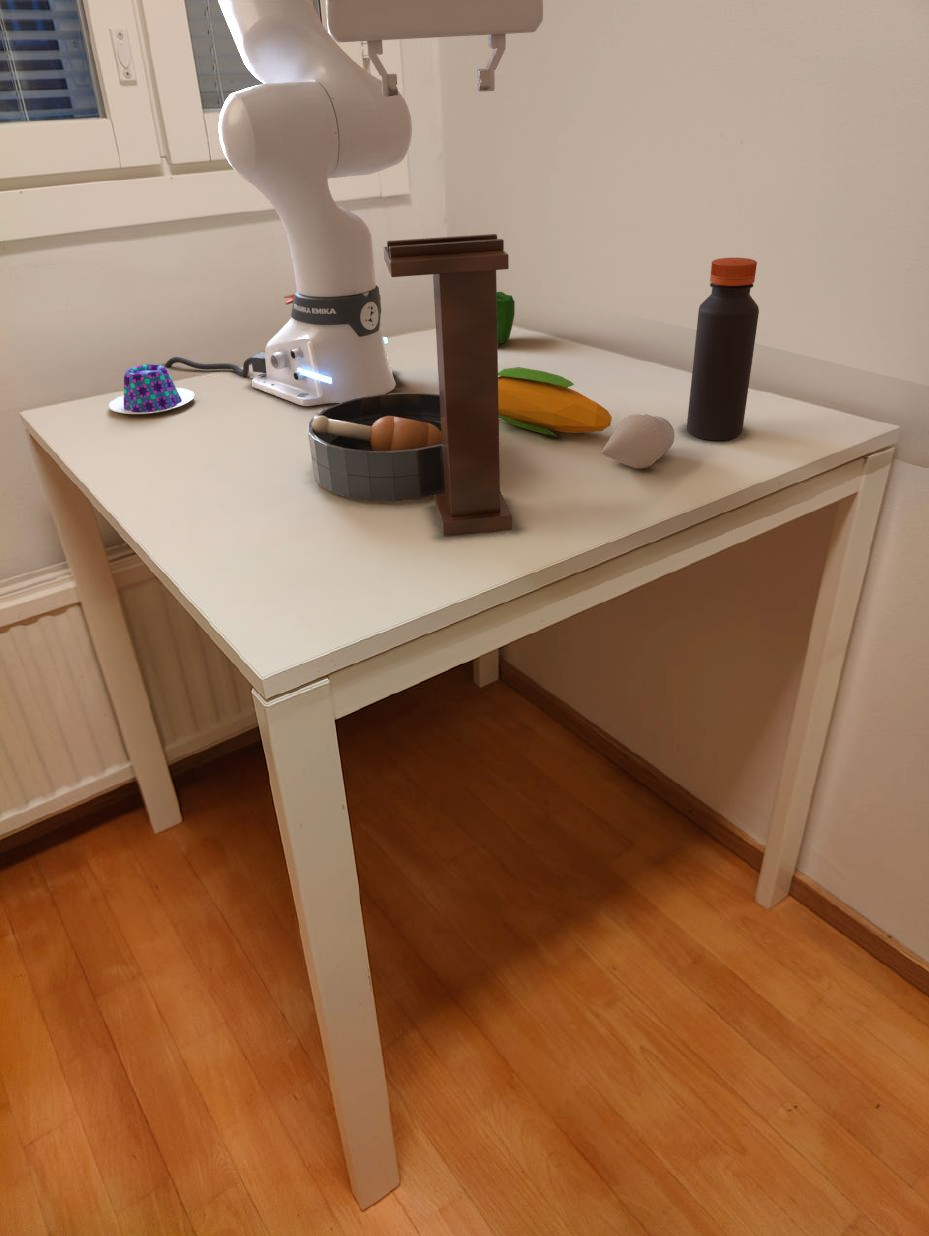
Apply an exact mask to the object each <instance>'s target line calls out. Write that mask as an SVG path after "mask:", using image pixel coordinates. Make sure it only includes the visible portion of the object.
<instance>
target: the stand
mask: <svg viewBox="0 0 929 1236" xmlns="http://www.w3.org/2000/svg"><path fill="white" fill-rule="evenodd" d="M504 242H505V240H504V239H503V238H498V235H497V233H487V234H475V235H474V234H473V235H472V234H471V235H459V236H443V237H441V236H440V237H427V238H411V239H397V240H396V239H395V240H387V241H386V246H383V257H384V262H385V264H386V267H387V269H388V272H389V275H390V277H391V278H403V277H414V276H415V277H416V276H430V275H432V281H433V283H432V284H433V299H434V300H433V301H434V319H435V321H434V323H435V339H436V340H435V341H436V357H437V358H436V359H437V372H438V375H437V376H438V377H437V378H438V392H439V393H438V394H439V396H440V414H441V433H442V451H443V470H444V488H445V493H442V494H435V495H434V496H433V497H434V508H435V513H436V515H437V518H438V522H439V525H440V529H441V532H442V536H443V537H450V536H462V535H469V534H471V535H472V534H480V533H491V532H497V531H498V532H500V531H509V530H513V515H512V512H511V510H510V508H509V505H508V504H507V501H506V499H505V497H504V495H503V493H502V491H501V475H500V474H501V464H500V463H501V462H500V460H501V459H500V418H499V400H498V377H499V375H498V373H499V354H498V353H499V350H498V346H499V345H498V342H497V292H498V291H497V289H498V287H497V271H503V270H509V265H510V263H509V260H510V259H509V253H508V252H506V251H505V243H504Z"/></svg>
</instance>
